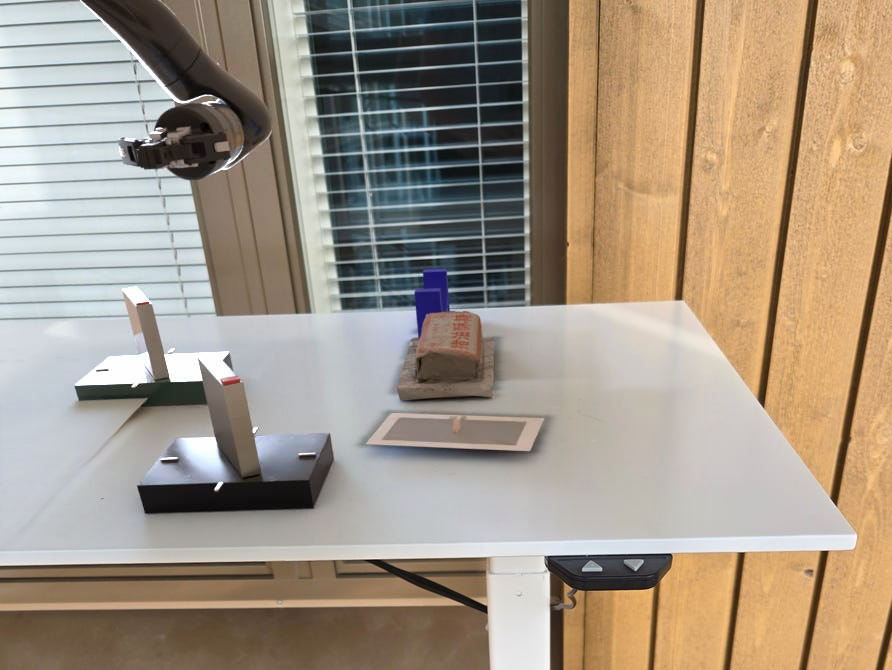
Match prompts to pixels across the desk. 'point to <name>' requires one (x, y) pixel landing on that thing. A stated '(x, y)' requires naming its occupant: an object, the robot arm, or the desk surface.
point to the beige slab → (146, 332)
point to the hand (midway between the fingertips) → (147, 157)
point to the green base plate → (147, 380)
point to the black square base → (238, 475)
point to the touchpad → (458, 431)
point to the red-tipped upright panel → (229, 414)
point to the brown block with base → (448, 359)
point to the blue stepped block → (432, 295)
